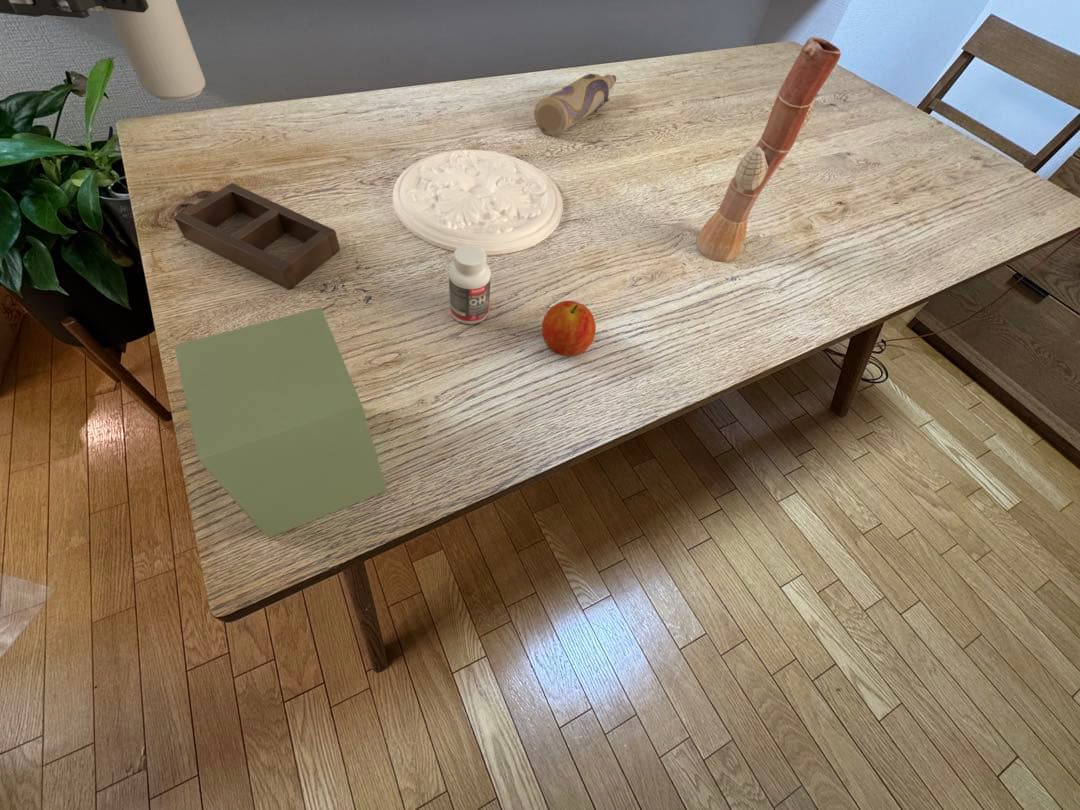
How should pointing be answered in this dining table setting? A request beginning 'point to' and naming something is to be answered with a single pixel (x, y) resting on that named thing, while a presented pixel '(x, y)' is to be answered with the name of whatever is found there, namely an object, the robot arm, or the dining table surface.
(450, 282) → the pill bottle
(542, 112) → the decorative bottle
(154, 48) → the beverage can
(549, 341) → the fruit
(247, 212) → the tray
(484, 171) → the ceiling medallion
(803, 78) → the vase
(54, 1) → the robot arm
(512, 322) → the dining table surface
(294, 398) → the stand
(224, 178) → the dining table surface
